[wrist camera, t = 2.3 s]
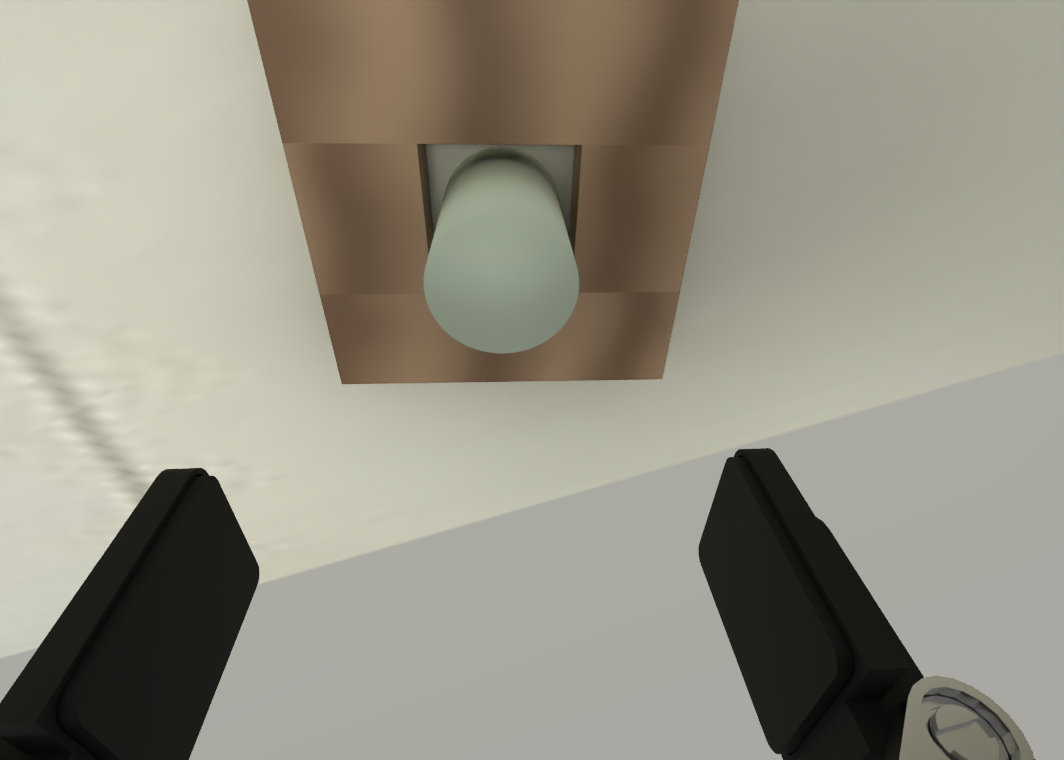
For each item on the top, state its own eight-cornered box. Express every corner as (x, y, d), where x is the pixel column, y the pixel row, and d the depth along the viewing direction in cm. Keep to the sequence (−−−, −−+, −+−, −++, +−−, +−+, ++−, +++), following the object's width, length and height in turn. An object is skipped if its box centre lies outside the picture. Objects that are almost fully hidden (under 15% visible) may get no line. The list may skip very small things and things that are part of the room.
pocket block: (718, -14, 19) (741, -14, 17) (652, 355, 29) (662, 379, 27) (266, -23, 18) (241, -25, 17) (351, 359, 28) (341, 384, 26)
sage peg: (560, 147, 22) (584, 211, 16) (555, 259, 25) (573, 352, 19) (440, 146, 22) (415, 212, 15) (449, 260, 25) (431, 354, 18)
